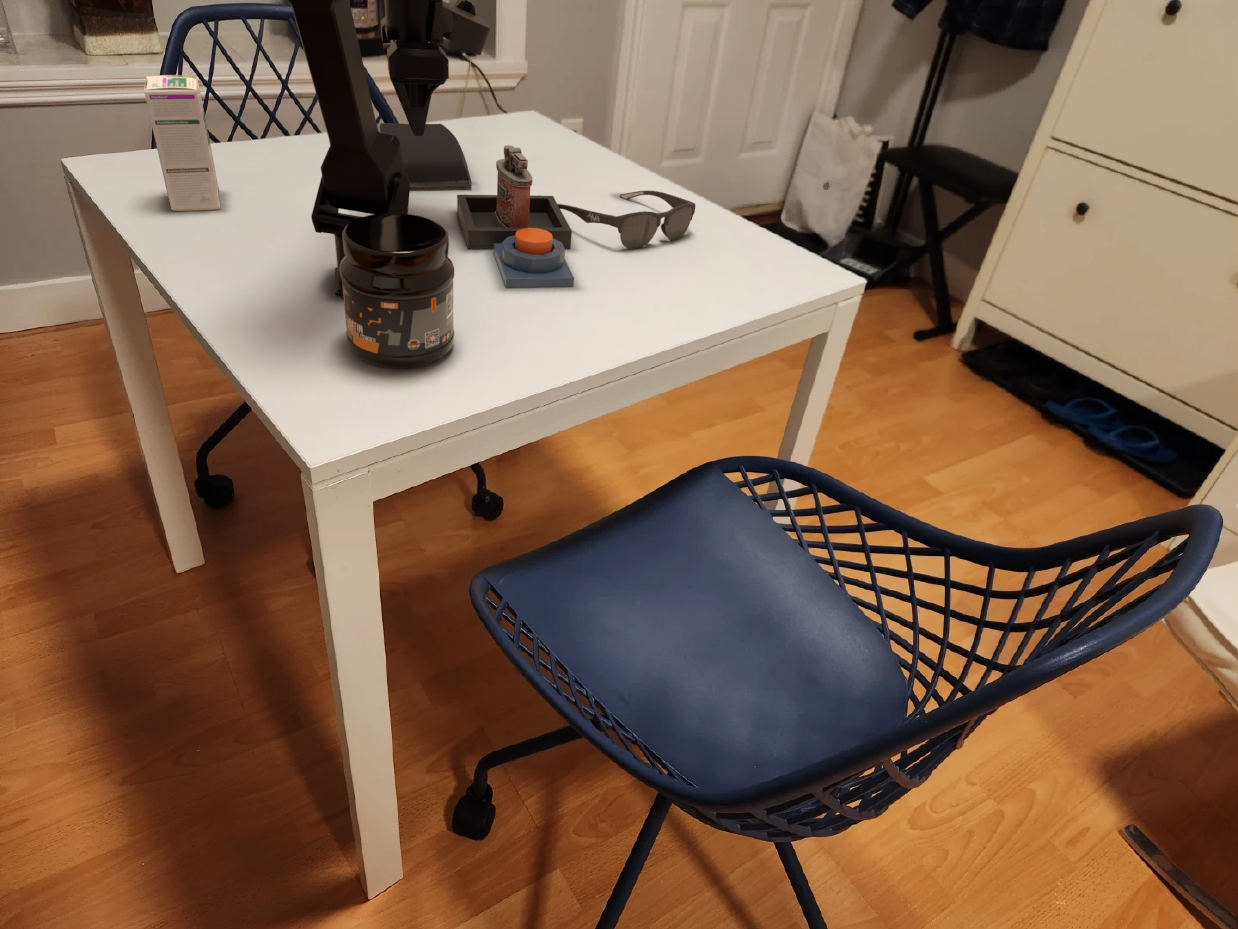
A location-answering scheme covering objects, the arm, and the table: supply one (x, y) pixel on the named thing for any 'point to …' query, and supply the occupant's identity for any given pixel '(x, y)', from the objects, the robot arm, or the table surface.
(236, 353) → the table surface
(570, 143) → the table surface
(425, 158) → the hard drive
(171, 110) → the syrup box
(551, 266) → the box
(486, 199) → the holder
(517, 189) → the lighter
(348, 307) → the supplement container
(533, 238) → the test button
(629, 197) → the sunglasses
